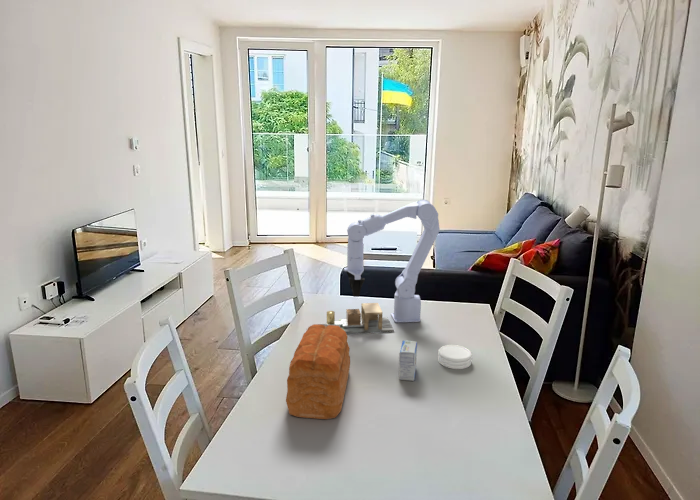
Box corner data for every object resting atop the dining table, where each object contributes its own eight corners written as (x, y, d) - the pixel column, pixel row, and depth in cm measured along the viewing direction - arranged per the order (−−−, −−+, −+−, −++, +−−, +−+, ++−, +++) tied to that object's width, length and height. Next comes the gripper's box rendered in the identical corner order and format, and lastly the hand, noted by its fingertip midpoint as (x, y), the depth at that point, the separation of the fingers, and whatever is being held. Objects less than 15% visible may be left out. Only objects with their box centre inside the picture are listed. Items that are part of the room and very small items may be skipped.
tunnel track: (387, 319, 177) (388, 301, 175) (393, 332, 166) (394, 313, 165) (338, 321, 175) (338, 303, 173) (341, 334, 164) (342, 314, 162)
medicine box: (414, 381, 135) (415, 353, 132) (398, 379, 136) (399, 351, 133) (416, 368, 142) (417, 341, 140) (400, 366, 143) (402, 339, 141)
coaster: (457, 373, 140) (457, 362, 139) (430, 360, 147) (431, 350, 146) (478, 363, 146) (479, 352, 145) (451, 351, 153) (452, 341, 152)
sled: (363, 320, 173) (363, 308, 172) (365, 326, 168) (366, 314, 166) (326, 321, 171) (326, 309, 170) (327, 328, 166) (327, 315, 165)
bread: (351, 367, 142) (351, 319, 138) (340, 421, 116) (340, 364, 113) (304, 364, 143) (303, 317, 140) (283, 417, 118) (281, 361, 114)
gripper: (342, 251, 178) (341, 286, 182) (346, 262, 165) (346, 299, 168) (361, 251, 179) (360, 285, 183) (366, 262, 165) (366, 299, 169)
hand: (354, 292), depth 175 cm, fingers open, 7 cm apart
